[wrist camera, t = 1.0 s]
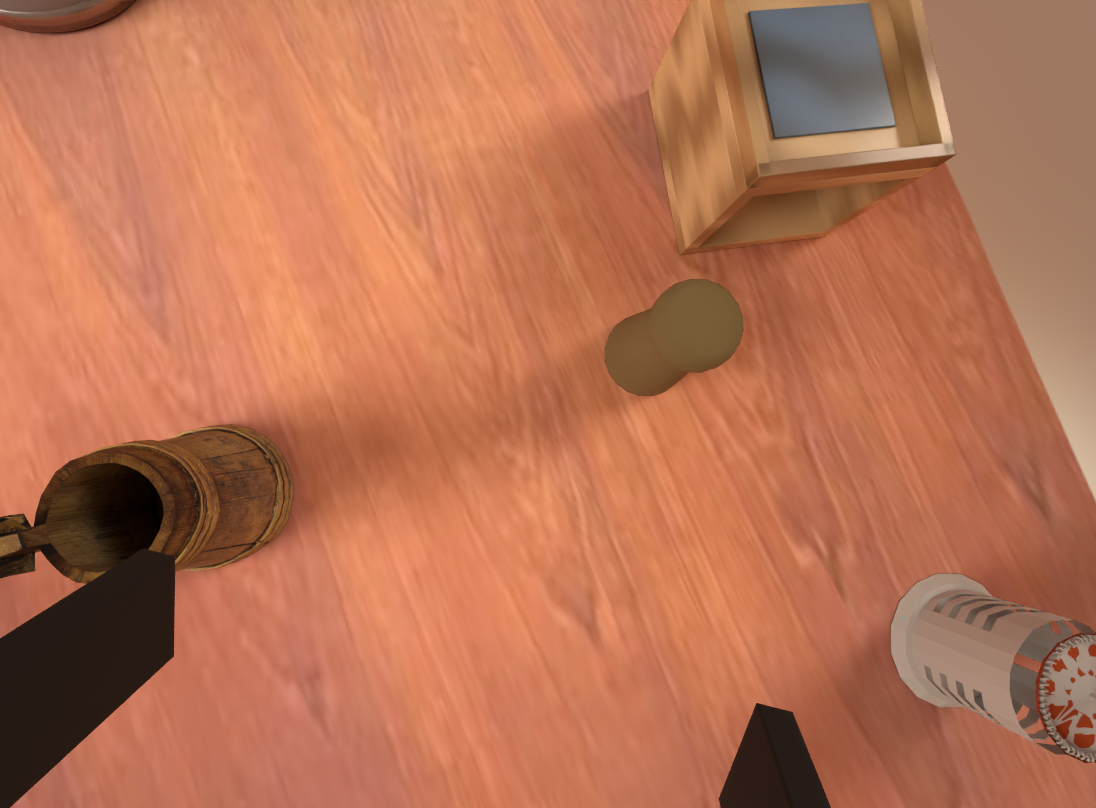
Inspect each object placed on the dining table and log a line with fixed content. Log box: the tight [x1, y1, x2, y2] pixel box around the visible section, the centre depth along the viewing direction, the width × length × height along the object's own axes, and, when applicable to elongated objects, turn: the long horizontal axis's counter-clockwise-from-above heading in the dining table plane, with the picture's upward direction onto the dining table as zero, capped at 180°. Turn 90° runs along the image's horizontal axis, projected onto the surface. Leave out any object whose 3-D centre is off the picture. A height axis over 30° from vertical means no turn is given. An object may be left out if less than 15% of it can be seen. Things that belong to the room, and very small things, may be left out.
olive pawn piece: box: [605, 279, 743, 396], centre depth 34 cm, size 6×6×11 cm
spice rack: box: [648, 0, 956, 255], centre depth 36 cm, size 13×12×12 cm
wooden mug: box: [0, 424, 293, 584], centre depth 26 cm, size 9×14×18 cm, turn 106°
